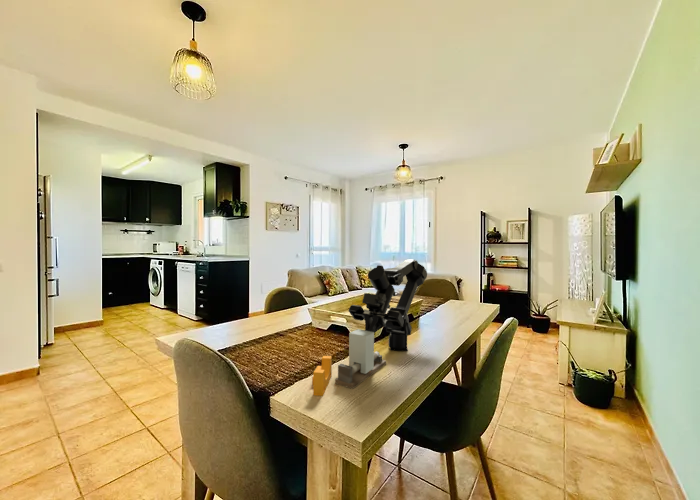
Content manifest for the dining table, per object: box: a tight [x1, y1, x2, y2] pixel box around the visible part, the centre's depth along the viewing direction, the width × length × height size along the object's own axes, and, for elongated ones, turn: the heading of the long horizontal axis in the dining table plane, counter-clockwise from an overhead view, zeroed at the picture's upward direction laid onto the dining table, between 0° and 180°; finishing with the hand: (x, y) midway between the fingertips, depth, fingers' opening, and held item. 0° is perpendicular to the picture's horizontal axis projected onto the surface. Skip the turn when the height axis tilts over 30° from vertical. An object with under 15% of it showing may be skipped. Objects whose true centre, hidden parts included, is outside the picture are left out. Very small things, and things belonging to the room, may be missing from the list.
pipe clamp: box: [311, 355, 333, 397], centre depth 86 cm, size 12×4×6 cm, turn 172°
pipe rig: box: [334, 350, 387, 390], centre depth 95 cm, size 21×6×6 cm, turn 146°
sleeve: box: [348, 328, 375, 374], centre depth 94 cm, size 5×6×11 cm
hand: (366, 337), depth 96 cm, fingers closed
